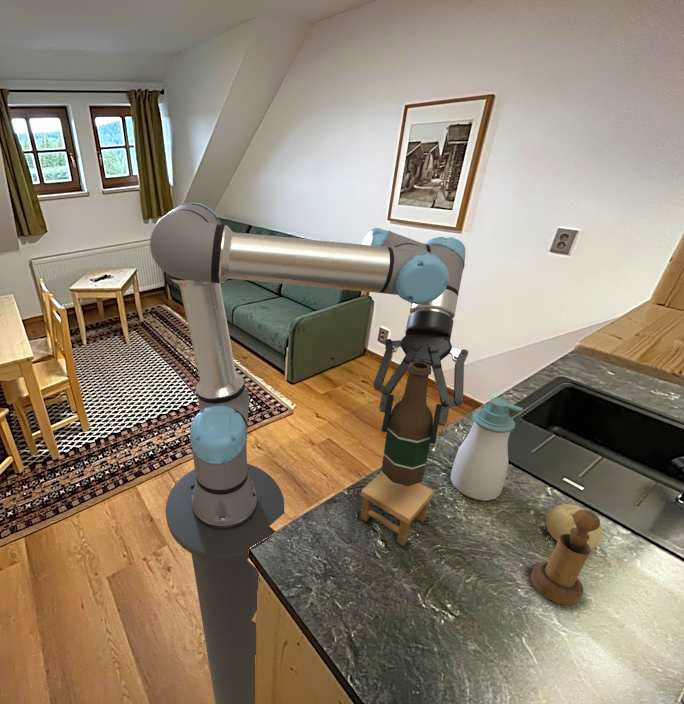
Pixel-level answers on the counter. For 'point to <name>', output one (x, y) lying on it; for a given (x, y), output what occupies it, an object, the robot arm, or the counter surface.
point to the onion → (568, 523)
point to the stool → (396, 503)
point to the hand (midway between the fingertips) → (407, 436)
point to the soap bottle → (485, 452)
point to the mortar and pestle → (566, 562)
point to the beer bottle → (409, 430)
